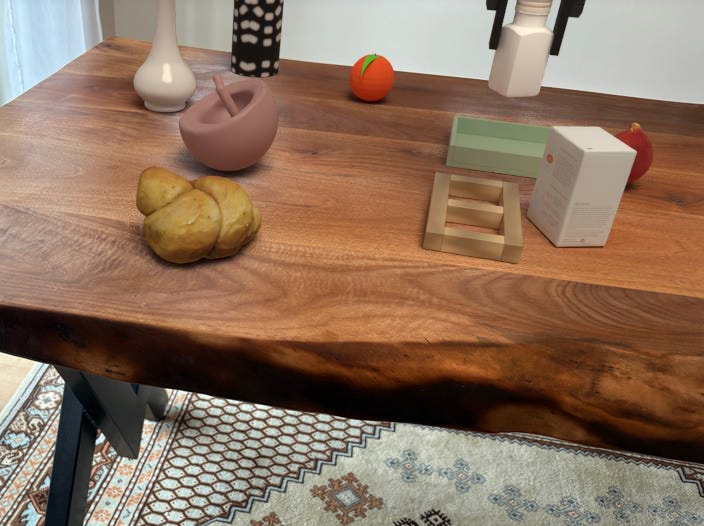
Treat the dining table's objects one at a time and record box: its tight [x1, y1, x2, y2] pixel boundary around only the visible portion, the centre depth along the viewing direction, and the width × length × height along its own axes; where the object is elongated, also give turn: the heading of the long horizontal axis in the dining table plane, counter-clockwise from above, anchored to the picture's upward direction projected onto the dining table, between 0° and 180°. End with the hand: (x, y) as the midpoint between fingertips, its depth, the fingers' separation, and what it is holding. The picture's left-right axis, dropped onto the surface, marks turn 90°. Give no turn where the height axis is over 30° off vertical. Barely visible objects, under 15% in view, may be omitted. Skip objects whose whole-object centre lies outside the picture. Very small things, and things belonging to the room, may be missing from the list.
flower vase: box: [132, 0, 198, 113], centre depth 109 cm, size 13×18×25 cm
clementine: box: [349, 53, 395, 102], centre depth 120 cm, size 8×7×7 cm
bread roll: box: [135, 165, 263, 264], centre depth 75 cm, size 13×10×8 cm
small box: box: [526, 125, 637, 248], centre depth 82 cm, size 8×6×10 cm
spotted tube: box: [230, 0, 285, 78], centre depth 128 cm, size 8×8×20 cm
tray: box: [445, 114, 552, 179], centre depth 103 cm, size 15×13×3 cm
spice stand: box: [422, 171, 524, 265], centre depth 85 cm, size 10×17×2 cm, turn 164°
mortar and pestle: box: [178, 72, 279, 172], centre depth 93 cm, size 12×12×12 cm
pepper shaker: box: [487, 0, 554, 98], centre depth 75 cm, size 4×4×10 cm
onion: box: [613, 122, 654, 185], centre depth 94 cm, size 6×6×8 cm
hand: (522, 48), depth 76 cm, fingers closed on pepper shaker, 5 cm apart
